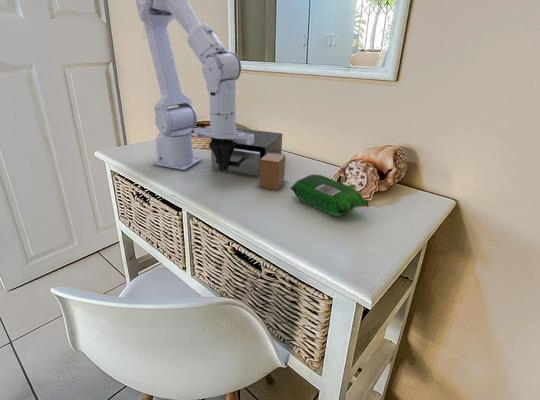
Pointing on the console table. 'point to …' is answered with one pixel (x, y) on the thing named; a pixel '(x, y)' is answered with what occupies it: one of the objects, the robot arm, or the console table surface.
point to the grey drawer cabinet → (264, 141)
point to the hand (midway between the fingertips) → (224, 169)
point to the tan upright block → (272, 171)
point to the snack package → (328, 194)
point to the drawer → (242, 160)
